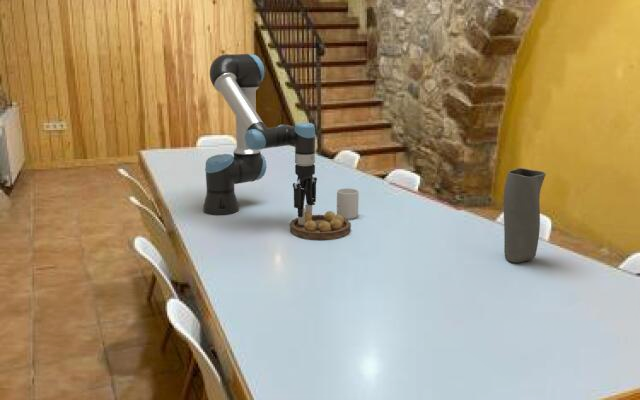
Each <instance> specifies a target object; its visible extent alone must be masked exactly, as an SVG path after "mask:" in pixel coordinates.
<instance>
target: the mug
mask: <svg viewBox="0 0 640 400" xmlns="http://www.w3.org/2000/svg"><path fill="white" fill-rule="evenodd" d="M359 195H360V194H359V190H358V189H356V188H351V187H350V188H348V187H347V188H339V189H337V190H336V215H341V216H342V217H343V218H344V219H346V220H348V221H349V220H355V219H356V218H357V217H358V216H359V200H360V199H359Z"/></svg>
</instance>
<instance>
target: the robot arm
mask: <svg viewBox="0 0 640 400" xmlns="http://www.w3.org/2000/svg"><path fill="white" fill-rule="evenodd" d="M264 78H265V67H264V63H263V61H262V60H261V58H260V57H259V56H258V55H256V54H251V53H250V54H248V53H239V54H236V53H235V54H229V53H228V54H221V55H219V56H218V57H216V58H215V59H214V60H213V61H212V63H211V65H210V68H209V79H210V82H211V85H212V87H213V88H214V89H215V91H217V92H219V93H221V96H222V97H223V99H224V100H225V102H226V103H227V104H228V106H229V108H230V110H231V111H232V113H233V114H234V115H235V130H236V131H235V132H236V133H235V134H236V136H235V137H236V148H235V149H234V150H233V155H232V154H229V153H223V154H215V155H212V156H210V157H208V158H207V159H206V160H205V168H204V170H205V180H206V181H205V183H206V193H205V194H206V196H205V198H204V203H203V207H202V208H203V213H206V214H208V215H212V216H215V215H217V216H221V215H222V216H223V215H231V214H234V213H237V212H239V210H240V205H239V202H238V199H237V196H236V193H235V185H236V184H237V185H238V184H243V183H244V184H245V183H249V182H251V183H252V182H255V181H258V180H261V179H262V178H263V177H264V176H265V174H266V171H267V161H266V157H265V155H263V154H262V153H261V150H263V149H264V150H265V149H272V148H279V147H288V146H289V147H294V163H295V167H294V169H295V170H294V172H295V173H294V174H295V175H296V176H297V179H296V182H293V183H292V188H293V208H294V209H297V218H298V224H300V225H305V212H308V213H310V214H311V216H312V215H313V206H315V205H316V201H317V181H318V178H317V177H315V176H314V175H315V174H316V165H315V163H316V161H315V160H316V127H315V125H314V123H312V122H311V123H310V122H298V123H296V124H295V125H294V126H293V125H289V124H280V125H278V126H275V127H274V126H273V127H267V125H266V124H265V123H264V122H263V121H262V119H261V117H260V115H259V113H257V105H256V104H257V101H256V98H257V97H256V92H257V90H258V89H259V88H260V83H261V82H262V81H263V80H264ZM305 202H306V204H305ZM311 220H312V219H311Z"/></svg>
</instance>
